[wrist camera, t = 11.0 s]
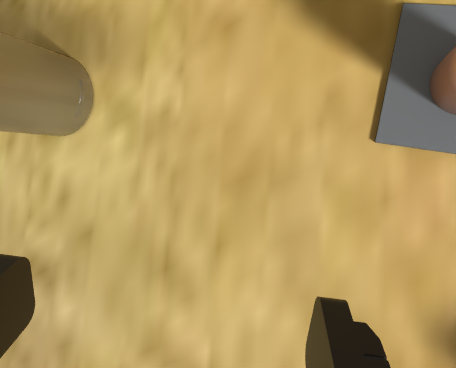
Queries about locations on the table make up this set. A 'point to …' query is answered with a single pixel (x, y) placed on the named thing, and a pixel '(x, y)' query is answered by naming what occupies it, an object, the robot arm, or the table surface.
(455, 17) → the rubber mat
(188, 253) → the table surface
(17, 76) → the robot arm
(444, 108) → the terracotta canister
